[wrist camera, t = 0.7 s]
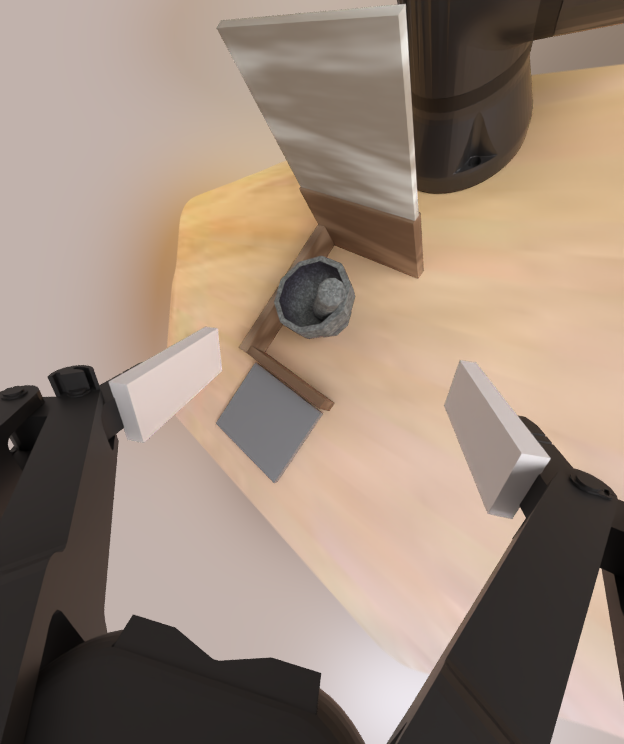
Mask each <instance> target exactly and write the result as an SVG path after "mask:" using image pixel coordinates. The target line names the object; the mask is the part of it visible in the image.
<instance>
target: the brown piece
mask: <svg viewBox="0 0 624 744" xmlns="http://www.w3.org/2000/svg"><path fill="white" fill-rule="evenodd" d="M217 29H218V31H219V33H220V35H221V37H222V39H223V41H224V43H225V45H226V47H227V48H228V50H229V52H230V54H231V56H232V58H233V60H234V62H235V63H236V66H237V67H238V69H239V71H240V73H241V75H242V77H243V79H244V81H245V83H246V84H247V86H248V88H249V90H250V92H251V94H252V96H253V98H254V99H255V101H256V103H257V105H258V107H259V109H260V111H261V113H262V115H263V116H264V118H265V120H266V122H267V124H268V126H269V128H270V130H271V132H272V133H273V135H274V137H275V139H276V141H277V143H278V145H279V147H280V149H281V150H282V152H283V154H284V156H285V158H286V160H287V162H288V164H289V166H290V168H291V169H292V171H293V173H294V175H295V177H296V179H297V181H298V183H299V185H300V186H301V187H300V188H299V189H300V191H301V193H302V195H303V197H304V199H305V201H306V202H307V204H308V206H309V208H310V210H311V212H312V213H313V215H314V217H315V219H316V221H317V223H318V225H317V227H316V228H315V230H314V232H313V233H312V235H311V236H310V238H309V239H308V241H307V242H306V244H305V246H304V247H303V249H302V250H301V252H300V253H299V255H298V256H297V258H296V260H295V261H294V263H293V264H292V266H291V267H290V269H289V270H288V272H289V271H290V270H291V269H292V268H293V267H294V266H295V265H296V264H297V263H298V262H300V261H304V260H307V259H311V258H315V257H318V256H324V257H327V256H328V254H329V252H330V251H331V249H332V248H333V246H334V245H336V246H338V247H341V248H343V249H346V250H348V251H351V252H353V253H356V254H358V255H361V256H363V257H366V258H368V259H371V260H373V261H376V262H378V263H381V264H383V265H386V266H388V267H391V268H393V269H396V270H398V271H401V272H403V273H406V274H408V275H411V276H413V277H415V278H419V277H420V275H421V274H422V272H423V271H424V269H423V250H422V231H421V213H420V212H418V196H417V180H416V164H415V148H414V132H413V116H412V99H411V83H410V67H409V51H408V35H407V19H406V4H399V5H389V6H377V7H366V8H355V9H345V10H333V11H321V12H310V13H299V14H288V15H277V16H266V17H254V18H244V19H232V20H222V21H220V23H219V25H218V27H217ZM288 272H287V273H288ZM278 287H279V286H278ZM277 291H278V288H277V289H276V291H275V292H274V294H273V295H272V297H271V298H270V300H269V301H268V303H267V305H266V306H265V308H264V309H263V311H262V312H261V314H260V315H259V317H258V319H257V320H256V322H255V323H254V325H253V326H252V328H251V329H250V331H249V333H248V334H247V336H246V337H245V339H244V340H243V342H242V343H241V345H240V347H239V348H240V349H242V350H243V351H244V352H246V353H248V354H249V355H250V356H252V357H253V358H254V359H255V360H257V361H258V362H259V363H261V364H262V365H263V366H265V367H266V368H267V369H269V370H270V371H271V372H272V373H274V374H275V375H276V376H278V377H279V378H280V379H282V380H283V381H284V382H286V383H287V384H288V385H289V386H291V387H292V388H293V389H295V390H296V391H297V392H299V393H300V394H301V395H303V396H304V397H305V398H306V399H308V400H309V401H310V402H312V403H313V404H314V405H316V406H317V407H318V408H320V409H324V410H328V411H330V409H331V408H332V406H333V405H334V402H332V401H331V400H329V399H328V398H327V397H325V396H324V395H323V394H321V393H320V392H319V391H317V390H316V389H314V388H313V387H312V386H310V385H309V384H308V383H306V382H305V381H303V380H302V379H301V378H299V377H298V376H297V375H295V374H294V373H293V372H291V371H290V370H288V369H287V368H286V367H284V366H283V365H282V364H280V363H279V362H277V361H276V360H275V359H273V358H272V357H271V356H269V355H268V354H266V353H265V351H266V349H267V348H268V346H269V345H270V343H271V342H272V340H273V339H274V337H275V336H276V334H277V333H278V331H279V329H280V328H281V326H282V325H283V324H282V323H280V320H279V317H278V314H277V310H276V307H275V304H274V300H275V297H276V294H277Z"/></svg>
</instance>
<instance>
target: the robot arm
mask: <svg viewBox="0 0 624 744" xmlns="http://www.w3.org/2000/svg"><path fill="white" fill-rule="evenodd" d="M397 2H398V5H399V4H406V19H407V35H408V51H409V67H410V83H411V99H412V116H413V132H414V148H415V164H416V180H417V189H418V190H420V191H424V192H429V193H449V192H455V191H459V190H463V189H466V188H469V187H472V186H474V185H477V184H479V183H481V182H483V181H485V180H486V179H488V178H490V177H491V176H493V175H494V174H496V173H497V172H498V171H500V170H501V169H502V168H503V167H504V166H506V165H507V164H508V163H509V162H510V161H511V159H512V158H513V157H514V156H515V155H516V153H517V152H518V150H519V149H520V147H521V145H522V143H523V141H524V139H525V136H526V133H527V130H528V126H529V123H530V120H531V116H532V109H533V99H532V83H531V69H530V51H531V47H532V43H533V40H538V39H543V38H548V37H553V36H560V35H565V34H570V33H576V32H581V31H586V30H591V29H596V28H601V27H607V26H613V25H617V24H622V23H624V0H397ZM221 371H222V364H221V355H220V345H219V335H218V328H211V327H204V328H202V329H201V330H199V331H197V332H195V333H193V334H192V335H190V336H188V337H186V338H185V339H183V340H181V341H179V342H178V343H176V344H174V345H172V346H171V347H169V348H167V349H165V350H164V351H162V352H160V353H158V354H156V355H155V356H153V357H151V358H149V359H148V360H146V361H144V362H141V363H139V364H137V365H135V366H133V367H131V368H130V369H128V370H126V371H124V372H123V373H122V374H119V375H117V376H115V377H114V378H112V379H110V380H108V381H106V382H105V383H103V384H101V385H99V383H98V381H97V378H96V375H95V372H94V369H93V367H91V366H86V365H78V366H71V367H66V368H62V369H60V370H57V371H55V372H53V373H51V374H50V375H49V376H48V379H49V381H50V383H51V386H52V388H53V390H54V392H55V395H56V397H42V395H41V393H40V391H39V388H38V387H36V386H30V385H28V386H27V385H25V386H15V387H13V388H12V387H11V388H7V389H5V390H4V391H1V392H0V744H365V742H364V740H363V739H362V737H361V735H360V734H359V732H358V730H357V729H356V727H355V726H354V724H353V722H352V721H351V720H350V719H349V717H348V716H347V715H346V713H345V712H344V711H343V709H342V708H341V707H340V706H339V705H338V704H337V703H336V702H335V701H334V700H333V699H332V698H331V697H330V696H329V695H328V694H326V693H325V692H324V691H323V690H321V689H320V679H321V673H319V672H316V671H313V670H309V669H306V668H303V667H300V666H297V665H293V664H290V663H287V662H284V661H281V660H278V659H274V658H256V659H240V660H224V661H218V660H214V659H212V658H211V657H210V656H208V655H207V654H206V653H205V652H204V651H202V650H201V649H200V648H199V647H198V646H197V645H195V644H194V643H193V642H192V641H190V640H189V639H188V638H187V637H186V636H185V635H183V634H182V633H181V632H180V631H179V630H178V629H176V628H175V627H171V626H168V625H165V624H162V623H159V622H155V621H152V620H149V619H146V618H143V617H139V616H136V615H133V616H132V617H131V619H130V620H129V622H128V623H127V625H126V627H125V628H124V630H119V631H114V632H110V633H107V628H106V623H105V616H104V604H105V592H106V581H107V568H108V558H109V546H110V534H111V523H112V511H113V500H114V487H115V476H116V465H117V453H118V438H117V435H116V434H117V433H118V432H119V431H120V430H122V429H123V428H124V431H125V433H126V437H127V439H128V440H132V441H137V442H143V443H144V442H145V441H146V440H147V439H148V438H150V437H151V436H152V435H153V434H154V433H155V432H156V431H157V430H158V429H159V428H161V427H162V426H163V425H164V424H165V423H166V422H167V421H168V420H169V419H170V418H171V417H173V416H174V415H175V414H176V413H177V412H178V411H179V410H180V409H181V408H182V407H183V406H185V405H186V404H187V403H188V402H189V401H190V400H191V399H192V398H193V397H194V396H195V395H196V394H198V393H199V392H200V391H201V390H202V389H203V388H204V387H205V386H206V385H207V384H208V383H210V382H211V381H212V380H213V379H214V378H215V377H216V376H217V375H218V374H219V373H220V372H221ZM444 406H445V409H446V411H447V414H448V416H449V419H450V421H451V424H452V426H453V429H454V431H455V434H456V436H457V439H458V441H459V444H460V446H461V449H462V451H463V454H464V456H465V459H466V461H467V464H468V466H469V468H470V471H471V473H472V476H473V478H474V481H475V483H476V486H477V488H478V491H479V493H480V496H481V498H482V501H483V503H484V506H485V508H486V511H487V513H488V514H491V515H496V516H501V517H505V518H510V519H513V517H514V515H515V514H516V512H517V511H518V509H519V508H521V509H522V511H523V513H524V515H525V517H526V519H525V521H524V522H523V524H522V525H521V526H520V528H519V529H518V531H517V532H516V534H515V535H514V537H513V538H512V539H513V540H512V541H511V543H510V545H509V546H508V548H507V550H506V551H505V553H504V554H503V556H502V558H501V559H500V561H499V563H498V564H497V566H496V567H495V569H494V571H493V572H492V574H491V576H490V577H489V579H488V581H487V582H486V584H485V585H484V587H483V589H482V590H481V592H480V594H479V595H478V597H477V599H476V600H475V602H474V603H473V605H472V607H471V608H470V610H469V612H468V613H467V615H466V616H465V618H464V620H463V621H462V623H461V625H460V626H459V628H458V630H457V631H456V633H455V634H454V636H453V638H452V639H451V641H450V643H449V644H448V646H447V648H446V649H445V651H444V652H443V654H442V656H441V657H440V659H439V661H438V662H437V664H436V665H435V667H434V669H433V670H432V672H431V674H430V675H429V677H428V679H427V680H426V682H425V683H424V685H423V687H422V688H421V690H420V692H419V693H418V695H417V697H416V698H415V700H414V702H413V703H412V705H411V706H410V708H409V709H408V711H407V713H406V714H405V716H404V717H403V719H402V720H401V722H400V724H399V725H398V727H397V728H396V730H395V731H394V733H393V735H392V736H391V738H390V739H389V741H388V742H387V744H550V742H551V739H552V735H553V732H554V728H555V724H556V721H557V717H558V714H559V710H560V707H561V703H562V700H563V696H564V692H565V689H566V685H567V682H568V678H569V675H570V671H571V667H572V664H573V660H574V657H575V653H576V650H577V646H578V643H579V639H580V635H581V632H582V628H583V625H584V621H585V618H586V614H587V611H588V607H589V603H590V600H591V596H592V593H593V589H594V586H595V582H596V579H597V575H598V571H599V568H601V569H602V574H603V580H604V585H605V591H606V597H607V603H608V609H609V615H610V621H611V627H612V633H613V639H614V645H615V651H616V657H617V663H618V669H619V675H620V681H621V687H622V693H623V699H624V501H621V500H618V499H617V495H616V494H615V493H614V492H613V490H612V489H611V488H610V487H609V486H607V485H606V484H605V483H604V482H602V481H601V480H599V479H597V478H596V477H594V476H592V475H591V474H588V473H586V472H583V471H581V470H578V469H573V467H572V466H571V465H570V464H569V463H568V461H567V460H566V459H565V458H564V457H563V455H562V454H561V453H560V452H559V451H558V449H557V448H556V447H555V446H554V445H552V442H551V441H550V440H549V439H548V438H547V437H545V434H544V433H543V432H542V430H541V429H540V428H539V427H538V426H537V425H536V424H534V423H533V422H532V421H530V420H529V419H527V418H526V417H523V416H517V414H516V413H515V412H514V411H513V409H512V408H511V407H510V405H509V404H508V403H507V402H506V400H505V399H504V398H503V396H502V395H501V394H500V393H499V391H498V390H497V389H496V387H495V386H494V385H493V384H492V382H491V381H490V380H489V378H488V377H487V376H486V375H485V373H484V372H483V371H482V369H481V368H480V367H479V366H478V364H477V363H476V362H469V361H462V360H460V361H459V364H458V367H457V370H456V373H455V375H454V378H453V381H452V384H451V387H450V390H449V393H448V396H447V399H446V401H445V404H444ZM9 438H10V439H11V441H12V443H13V445H14V447H13V448H12V449H11V450H9V448H8V439H9Z"/></svg>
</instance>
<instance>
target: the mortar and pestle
mask: <svg viewBox="0 0 624 744" xmlns="http://www.w3.org/2000/svg"><path fill="white" fill-rule="evenodd" d="M354 299H355V293H354V289H353V287H352V285H351V282H350V280H349V278H348V275H347V273H346V271H345V269H344V267H343V265H342V264H341V263H339V262H336V261H334V260H331V259H329V258H326V257H324V256H318V257H315V258H311V259H307V260H304V261H300V262H298V263H297V264H296V265H295V266H294V267H293V268H292V269H291V270H290V271H289V272H288V273H287V274H286V275H285V276H284V277H283V278H282V279H281V281H280V284H279V287H278V291H277V294H276V297H275V300H274V304H275V307H276V310H277V314H278V317H279V320H280V323H282V324H283V325H284V326H286V327H288V328H289V329H291V330H293V331H294V332H296V333H298V334H299V335H301V336H303V337H305V338H308V339H311V338H317V337H330V336H336V335H338V334H339V333H340V332H341V331H342V330H343V329H345V328H346V327H347V326H348V323H349V319H350V316H351V310H352V306H353V302H354Z"/></svg>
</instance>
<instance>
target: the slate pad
mask: <svg viewBox="0 0 624 744" xmlns="http://www.w3.org/2000/svg"><path fill="white" fill-rule="evenodd" d="M322 414H323V413H322V412H320V411H319V410H318V409H316V408H315V407H314V406H312V405H311V404H310V403H309V402H307V401H306V400H305V399H303V398H302V397H301V396H299V395H298V394H297V393H296V392H294V391H293V390H292V389H290V388H289V387H288V386H286V385H285V384H284V383H283V382H281V381H280V380H279V379H277V378H276V377H275V376H274V375H272V374H271V373H270V372H268V371H267V370H266V369H264V368H263V367H262V366H261V365H259V364H258V363H255V364H254V366H253V367H252V369H251V370H250V372H249V373H248V375H247V376H246V378H245V379H244V381H243V382H242V384H241V386H240V387H239V389H238V390H237V392H236V393H235V395H234V396H233V398H232V399H231V401H230V403H229V404H228V406H227V407H226V409H225V410H224V412H223V413H222V415H221V416H220V418H219V419H218V421H217V423H216V424H217V425H218V426H219V427H220V428H221V429H222V430H223V431H224V432H225V433H226V434H227V435H228V436H229V437H230V438H231V439H232V440H233V441H234V442H235V443H236V444H237V446H238V447H239V448H240V449H241V450H242V451H243V452H244V453H245V454H246V455H247V456H248V457H249V458H250V459H251V460H252V461H253V462H254V463H255V464H256V465H257V466H258V467H259V468H260V469H261V470H262V471H263V472H264V473H265V474H266V475H267V476H268V477H269V478H270V479H271V480H272V481H273V482H274V483H276V482H277V481H278V480H279V478H280V477H281V476H282V474H283V473H284V471H285V470H286V468H287V467H288V465H289V464H290V462H291V461H292V459H293V458H294V456H295V455H296V453H297V452H298V450H299V449H300V447H301V446H302V444H303V443H304V441H305V440H306V438H307V437H308V435H309V434H310V432H311V431H312V429H313V428H314V426H315V425H316V423H317V422H318V420H319V419H320V417H321V416H322Z"/></svg>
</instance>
